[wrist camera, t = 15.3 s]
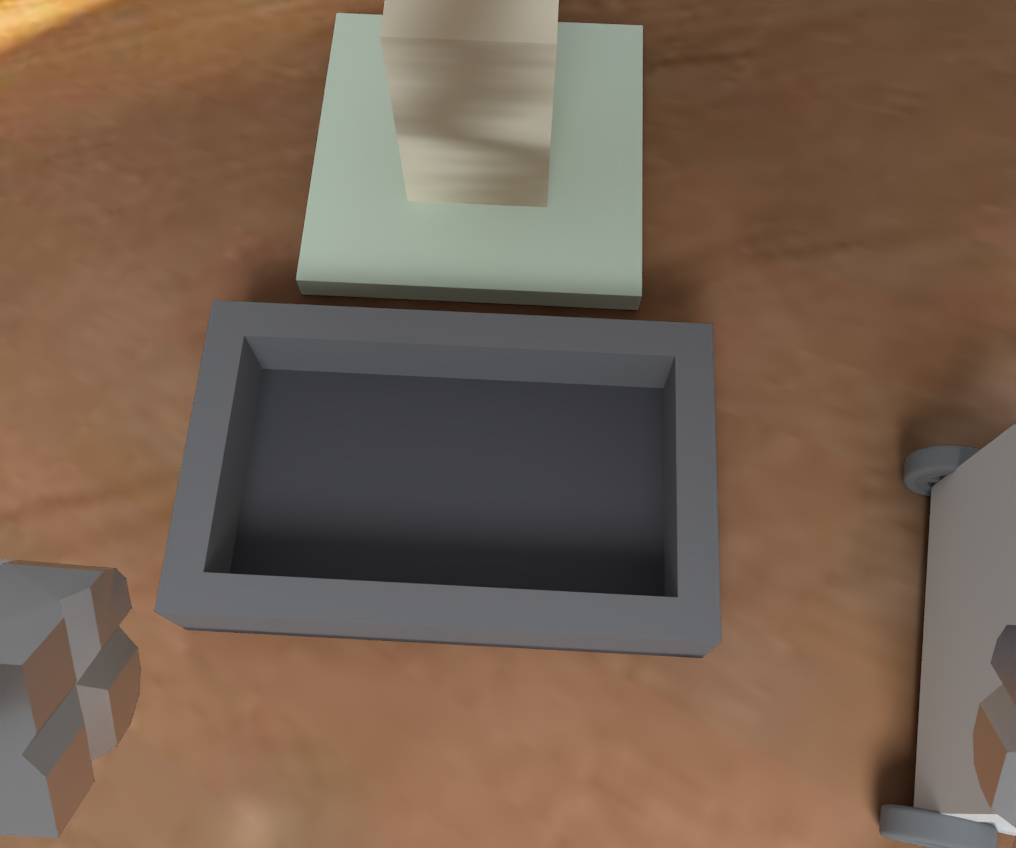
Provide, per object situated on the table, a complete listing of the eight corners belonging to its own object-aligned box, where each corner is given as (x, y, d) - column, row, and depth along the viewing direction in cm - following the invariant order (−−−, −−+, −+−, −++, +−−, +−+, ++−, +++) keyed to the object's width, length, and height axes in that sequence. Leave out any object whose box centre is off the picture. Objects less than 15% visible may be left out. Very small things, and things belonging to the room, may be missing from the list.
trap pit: (696, 364, 34) (712, 323, 31) (701, 657, 30) (721, 642, 27) (236, 341, 34) (212, 300, 31) (186, 629, 30) (154, 611, 27)
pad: (639, 44, 39) (642, 25, 38) (638, 310, 34) (642, 296, 33) (340, 31, 39) (336, 13, 38) (301, 294, 35) (295, 280, 34)
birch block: (551, 95, 37) (562, -87, 29) (546, 207, 35) (556, 43, 27) (419, 89, 37) (397, -94, 29) (407, 201, 35) (379, 36, 27)
